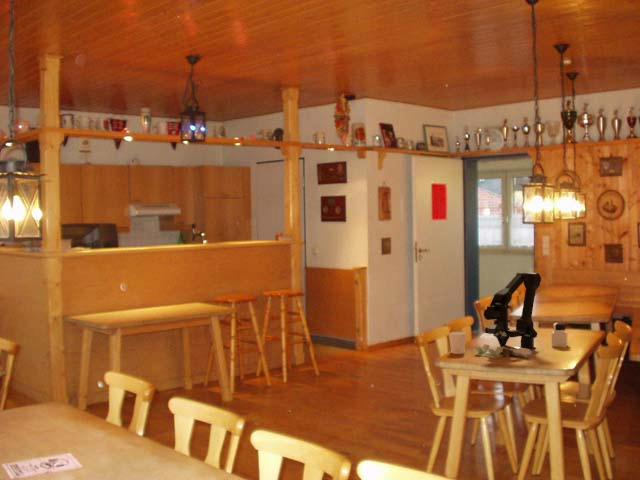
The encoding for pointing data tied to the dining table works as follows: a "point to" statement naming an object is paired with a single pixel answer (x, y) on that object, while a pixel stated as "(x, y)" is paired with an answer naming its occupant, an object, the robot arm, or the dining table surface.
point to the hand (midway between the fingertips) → (502, 348)
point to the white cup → (457, 342)
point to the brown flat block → (505, 352)
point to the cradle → (492, 353)
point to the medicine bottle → (559, 335)
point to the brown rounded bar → (518, 351)
